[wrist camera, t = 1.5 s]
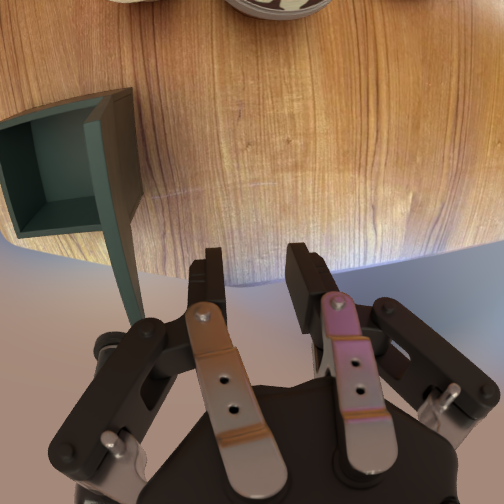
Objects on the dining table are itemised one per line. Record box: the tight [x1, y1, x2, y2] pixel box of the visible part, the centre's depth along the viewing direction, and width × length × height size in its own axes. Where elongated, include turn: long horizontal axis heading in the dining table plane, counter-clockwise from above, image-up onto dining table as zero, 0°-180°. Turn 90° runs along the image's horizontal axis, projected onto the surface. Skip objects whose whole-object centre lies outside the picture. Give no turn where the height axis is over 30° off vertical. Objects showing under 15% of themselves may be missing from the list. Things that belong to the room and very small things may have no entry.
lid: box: [83, 95, 145, 327], centre depth 21 cm, size 16×14×1 cm
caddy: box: [0, 87, 143, 239], centre depth 30 cm, size 15×14×9 cm
